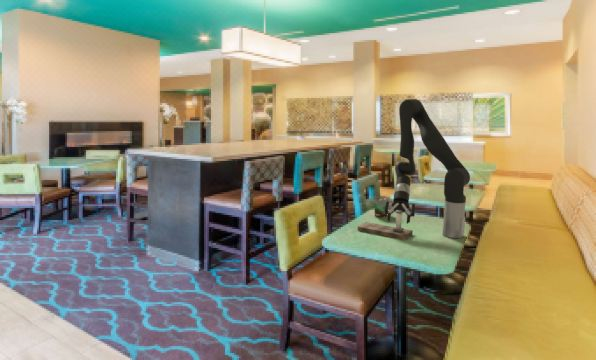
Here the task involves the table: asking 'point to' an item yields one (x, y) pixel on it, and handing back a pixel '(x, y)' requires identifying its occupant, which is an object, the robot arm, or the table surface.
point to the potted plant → (380, 207)
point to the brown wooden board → (384, 230)
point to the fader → (398, 221)
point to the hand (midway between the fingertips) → (398, 221)
